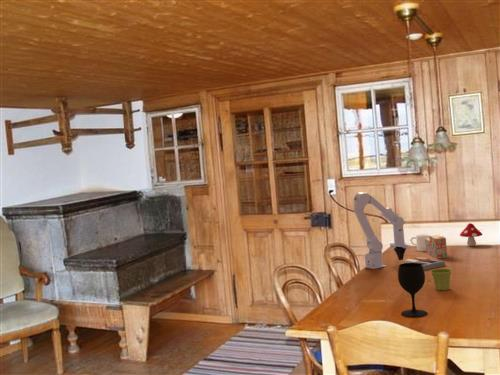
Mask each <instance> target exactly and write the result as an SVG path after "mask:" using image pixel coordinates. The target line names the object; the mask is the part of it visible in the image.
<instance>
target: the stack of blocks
mask: <svg viewBox="0 0 500 375" xmlns="http://www.w3.org/2000/svg"><path fill="white" fill-rule="evenodd" d="M425 243H426V251H425V252H426V254H428V255H430V256H432V257H433V258H434V259H437V260H438V259H446V258H447V259H448V252H447V237H445V236H444V235H440V234H433V235H429V238H427V239H425Z"/></svg>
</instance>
